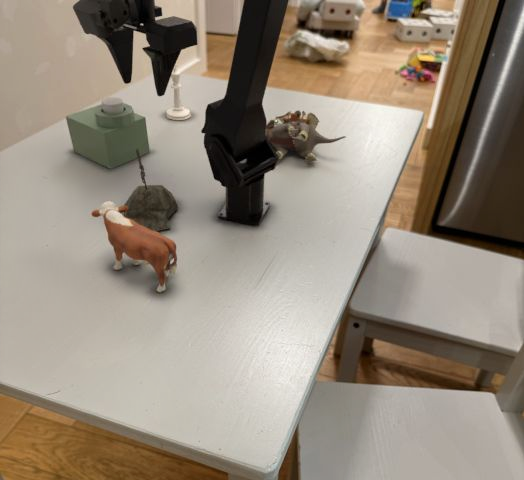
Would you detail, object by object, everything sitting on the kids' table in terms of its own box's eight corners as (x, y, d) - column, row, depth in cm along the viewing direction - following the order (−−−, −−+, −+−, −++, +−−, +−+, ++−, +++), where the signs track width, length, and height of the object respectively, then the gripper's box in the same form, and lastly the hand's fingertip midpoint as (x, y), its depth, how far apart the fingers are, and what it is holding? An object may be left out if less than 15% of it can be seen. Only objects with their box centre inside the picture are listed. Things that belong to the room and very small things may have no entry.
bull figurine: (119, 245, 69) (109, 191, 64) (188, 285, 64) (183, 230, 58) (94, 258, 67) (80, 203, 61) (162, 301, 61) (154, 245, 56)
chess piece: (162, 118, 101) (156, 63, 94) (172, 109, 104) (167, 56, 97) (185, 121, 100) (180, 67, 93) (194, 113, 103) (191, 59, 96)
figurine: (229, 130, 85) (242, 97, 97) (232, 165, 89) (243, 128, 101) (347, 132, 83) (345, 97, 95) (344, 167, 87) (342, 130, 99)
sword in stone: (130, 197, 79) (117, 119, 70) (180, 199, 79) (173, 122, 70) (116, 233, 72) (100, 150, 63) (171, 235, 72) (162, 153, 63)
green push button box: (152, 153, 90) (146, 107, 84) (113, 170, 85) (104, 122, 79) (113, 136, 94) (105, 91, 88) (73, 151, 89) (62, 104, 83)
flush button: (128, 111, 83) (126, 100, 82) (112, 117, 81) (110, 106, 80) (115, 106, 85) (113, 95, 83) (99, 112, 83) (96, 100, 81)
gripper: (31, -44, 64) (61, 86, 75) (128, -20, 56) (145, 121, 67) (101, -52, 70) (119, 69, 81) (197, -31, 62) (202, 100, 74)
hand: (144, 89), depth 76 cm, fingers open, 7 cm apart
